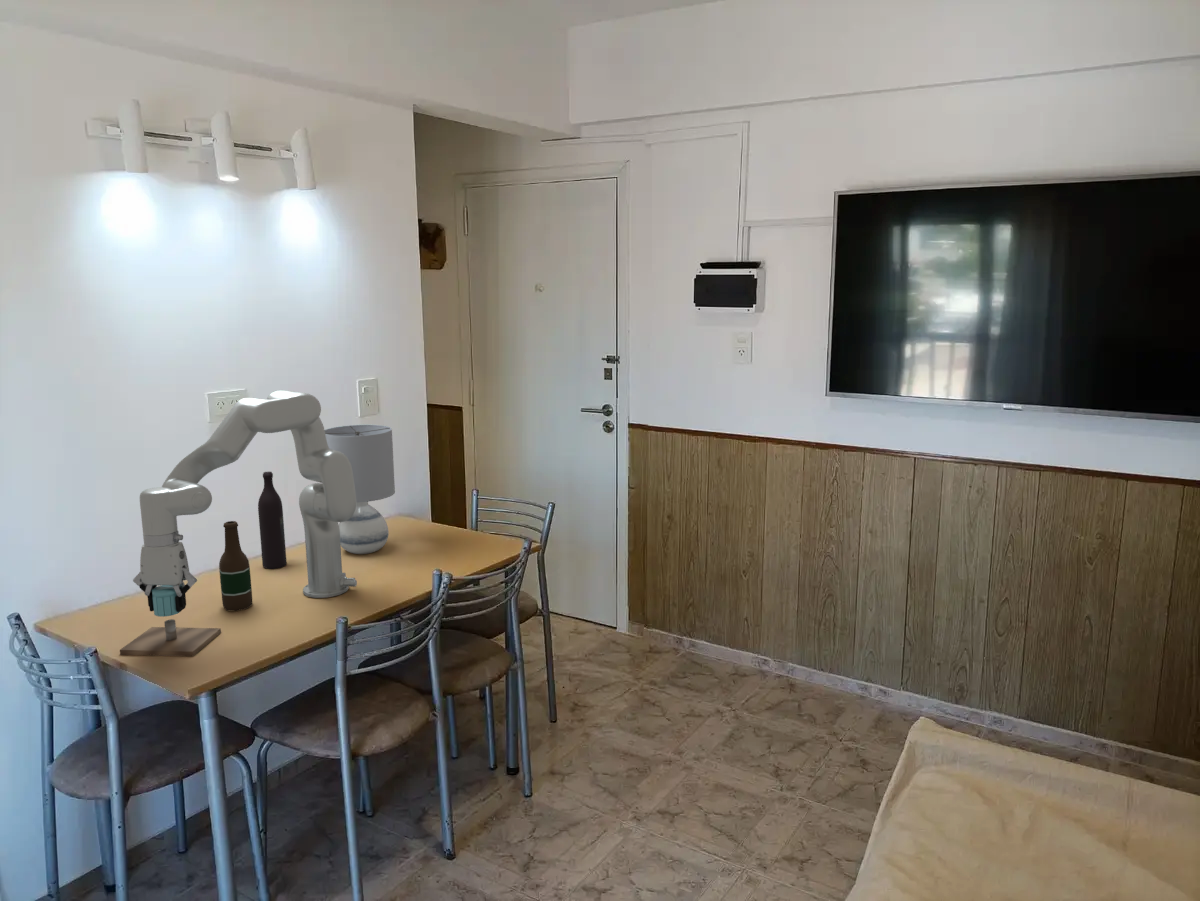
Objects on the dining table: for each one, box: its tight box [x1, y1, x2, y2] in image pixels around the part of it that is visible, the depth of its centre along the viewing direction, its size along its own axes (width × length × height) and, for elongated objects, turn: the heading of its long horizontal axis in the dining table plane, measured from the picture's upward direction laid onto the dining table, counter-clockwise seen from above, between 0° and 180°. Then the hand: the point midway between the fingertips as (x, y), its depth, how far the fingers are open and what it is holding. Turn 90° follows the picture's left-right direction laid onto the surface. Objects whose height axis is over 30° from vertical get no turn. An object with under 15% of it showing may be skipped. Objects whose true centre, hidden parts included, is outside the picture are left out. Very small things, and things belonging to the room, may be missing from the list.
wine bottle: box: [257, 471, 287, 570], centre depth 271 cm, size 7×7×30 cm
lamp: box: [324, 424, 396, 555], centre depth 286 cm, size 22×22×40 cm
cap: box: [152, 585, 182, 618], centre depth 214 cm, size 6×6×6 cm
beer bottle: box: [218, 520, 253, 612], centre depth 238 cm, size 8×8×24 cm
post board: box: [119, 618, 222, 657], centre depth 216 cm, size 18×14×6 cm
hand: (167, 609), depth 214 cm, fingers closed on cap, 6 cm apart
